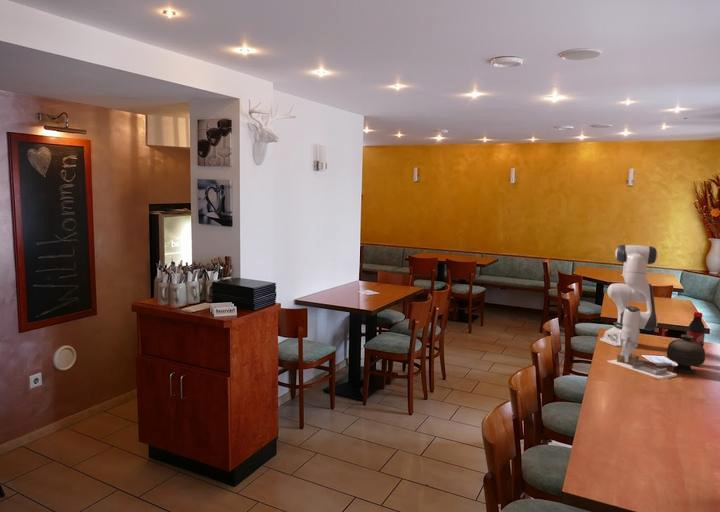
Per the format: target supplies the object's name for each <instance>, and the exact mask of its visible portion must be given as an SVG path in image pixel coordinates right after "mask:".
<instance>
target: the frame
mask: <svg viewBox="0 0 720 512" xmlns="http://www.w3.org/2000/svg"><path fill="white" fill-rule="evenodd" d="M616 359H617V362H620V363H625V364H630V365H633V363H634V362H640V361H639V360H640V356H639V355H634V354H632V355H631V354H630V355H629V361H628V362H625V357H624V356H623V355H622V352H618V353H617V356H616Z"/></svg>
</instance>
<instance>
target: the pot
mask: <svg viewBox="0 0 720 512" xmlns="http://www.w3.org/2000/svg"><path fill="white" fill-rule="evenodd" d="M680 335H681V336H680V338H678V339H674V340H672V341H670V342H669V343H668V345H667V348H666V357H667V358H668V359H669V360H671V361H672V362H675V363H676V364H677V365H675V366H674V367H672V370H673V371H675V372H677V373H681V374H685V375H686V374H687V375H692V374H695V373H696V371H695V369H693V368H692V367H697V366H696V365H699V366H701V365H704V363H705V360H706V352H705V351H706V350H705V348H704V346H703V347H702V346H701V345H700V344H699V343H697V342H695V341H692V340H691V339H692V338H693V336H690V335H687V334H680Z"/></svg>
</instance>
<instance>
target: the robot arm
mask: <svg viewBox="0 0 720 512" xmlns="http://www.w3.org/2000/svg"><path fill="white" fill-rule="evenodd" d="M614 256H615V258H616V261H617V262H620V263H622V264H623V267H622V277H623V279H624V283H621V282H615V283H611V284H610V285H609V286H608V288H607V291H606V292H607V296H608V297H609V299H611V300H612V301H613V303H615V305H616V307H617V308H616V310H617V321H614V322H613V325H614V326H613V327H611V328H609V329H607V330H605V332H604V335H603V336H602V337H600V338H599V341H600V342H604V343H606V344H609V345H612V346H615V347H618V348H619V347H621V348H622V349H621V353H622V355H623V356H624V357H625V362H628V361H629V355H630V354H631V355H633V352H634V351H635V350H636V349H637V348H638V341H639V340H640V329H641V330H645V331H649V332H650V331H653V330H655V329H656V328H657V326H658V316H657V314H656V304H655V297H654V296H655V295H654V290H653V285H652V284H651V283H649V282H648V280H647V265H652V264H654V263H656V261H657V259H658V256H659V254H658V251H657V248H656V247H654V246H648V245H643V244H642V245H640V244H626V245H625V244H620V245H618V246H617V248H616V249H615V251H614ZM628 302H629V303H631V302H633V303H638V304H639V303H640V304H642V303H646V311H641V309H640V308H639V307H637V306H632V305H631V306H630V304H629V303H628Z"/></svg>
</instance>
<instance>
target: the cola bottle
mask: <svg viewBox="0 0 720 512" xmlns="http://www.w3.org/2000/svg"><path fill="white" fill-rule="evenodd" d="M702 318H703V313H702V312H698V311H694V313H693V318H692V319H693V320H692V321H691V322H690V324H689V325H688V326H687V334H686V335H690V336H693V338H692V339H691V340H692V341H695V342H697V343H699V344H700V345H701V346H702V347H703V348H704V345H705V335H706V327H705V325H704V322H703V319H702ZM698 366H700V365H696V366H695V367H698Z"/></svg>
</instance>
